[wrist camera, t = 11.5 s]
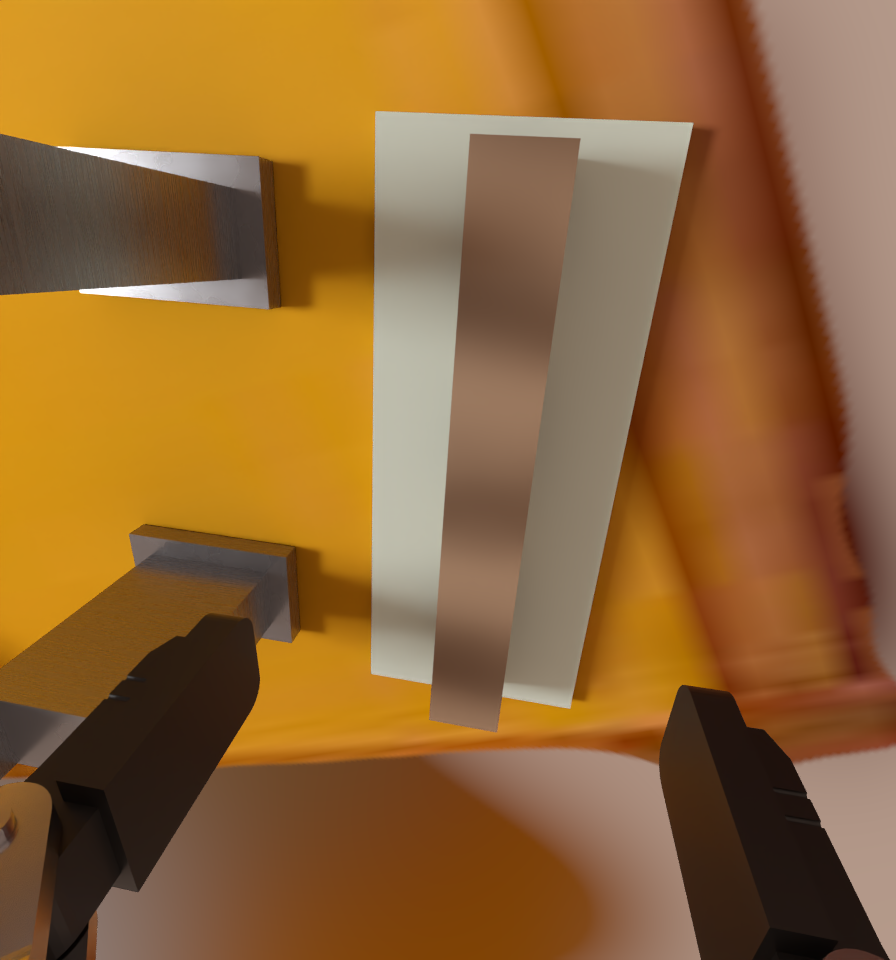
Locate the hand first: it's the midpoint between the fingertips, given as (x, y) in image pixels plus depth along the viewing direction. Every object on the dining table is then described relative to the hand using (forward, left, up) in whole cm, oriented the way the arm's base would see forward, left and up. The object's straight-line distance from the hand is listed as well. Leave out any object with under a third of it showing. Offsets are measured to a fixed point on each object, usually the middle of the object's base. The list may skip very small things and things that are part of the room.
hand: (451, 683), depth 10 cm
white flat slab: (0, 0, -13) cm, 13 cm away
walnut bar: (+1, 0, -12) cm, 12 cm away
